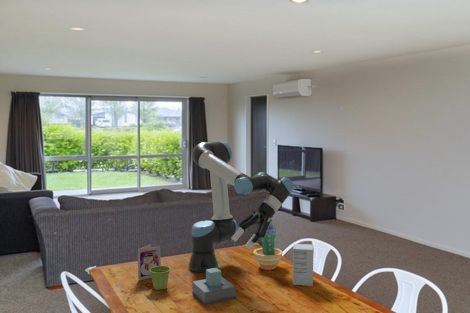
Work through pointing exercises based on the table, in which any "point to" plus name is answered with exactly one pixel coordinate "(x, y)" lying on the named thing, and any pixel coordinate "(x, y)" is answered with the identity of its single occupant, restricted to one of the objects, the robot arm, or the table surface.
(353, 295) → the table surface
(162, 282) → the plant pot
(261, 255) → the potted cactus
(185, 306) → the table surface
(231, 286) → the socket
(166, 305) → the table surface
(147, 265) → the greeting card
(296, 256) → the supplement box
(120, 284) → the table surface
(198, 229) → the robot arm
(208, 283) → the peg
